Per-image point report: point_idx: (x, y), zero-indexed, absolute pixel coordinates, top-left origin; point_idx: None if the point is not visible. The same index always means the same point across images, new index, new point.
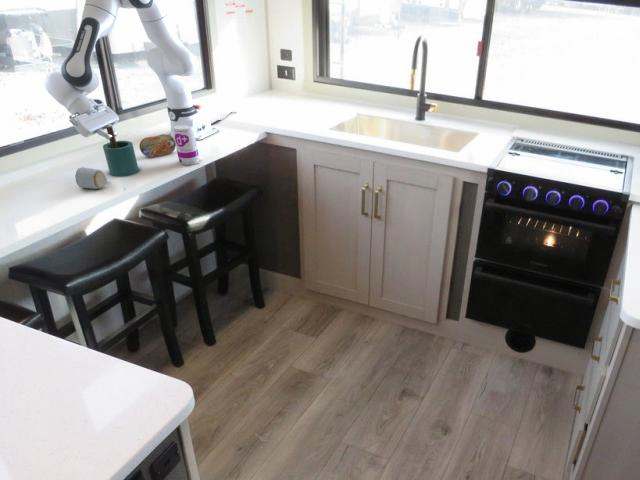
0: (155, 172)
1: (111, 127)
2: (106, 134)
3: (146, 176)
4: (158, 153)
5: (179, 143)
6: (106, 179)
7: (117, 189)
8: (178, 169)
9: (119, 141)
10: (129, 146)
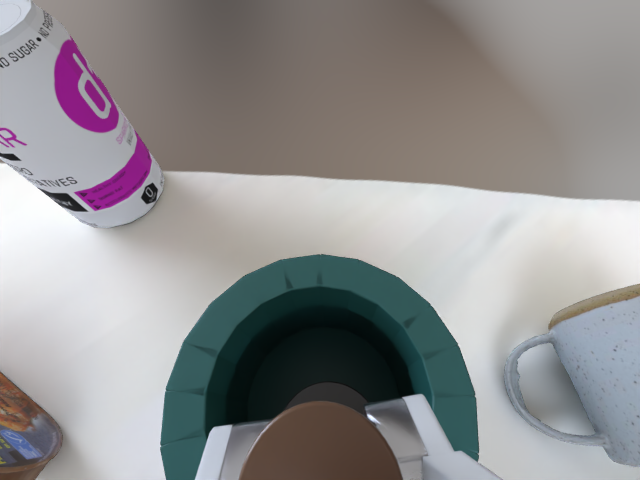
0: (279, 242)
1: (323, 401)
2: (454, 455)
3: (338, 245)
4: (2, 397)
5: (104, 108)
6: (531, 338)
7: (525, 253)
8: (218, 184)
9: None
10: (311, 255)
